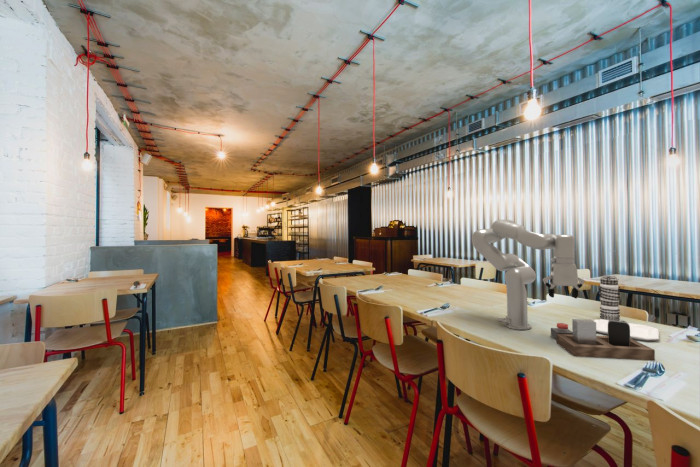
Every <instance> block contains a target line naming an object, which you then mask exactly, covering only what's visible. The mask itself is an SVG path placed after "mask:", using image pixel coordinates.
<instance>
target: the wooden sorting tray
mask: <svg viewBox="0 0 700 467" xmlns="http://www.w3.org/2000/svg"><path fill="white" fill-rule="evenodd" d="M571 323H572V324H571V326H572V329H571V331H572V332H573V335H571V334H556V339H555V340H556V344H558V345H559V346H560V347H561V348H563V349H564V348H565V349H564V350H565V351H567V352H568V351H569V352H568V353H569V354H571V355H572V354H573V355H572V356H574V357H583V356H585V358H586V357H587V358H588V357H589V358H603V357H604V358H608V359H625V360H644V361H645V360H647V361H655V360H656V355H655V351H656V350H655V349H654V348H651V347H650V346H647V345H646V344H643V343H641V342H639V341H638V340H636V339H631V338H630V347H627V346H613V345H611V344H609V343H608V335H597V331H596V322H594V320H592V319H584V318H583V319H581V318H580V319H579V318H578V319H576V318H575V319H574V318H572V320H571Z"/></svg>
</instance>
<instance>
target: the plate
mask: <svg viewBox="0 0 700 467" xmlns="http://www.w3.org/2000/svg"><path fill="white" fill-rule="evenodd" d="M593 321H594V322H596V333H600V334H603V335H606V336H608V321H609V320H604V319H601V318H599V319H593ZM627 323H628V324H629V326H630V338H631V339H633V340H635V341H646V342H647V341H651V342H652V341H656V340H658V341H659V340H660V333H659V332H660V331H659V329H658V328H656V327H652V326H649V325H644V324H638V323H632V322H631V323H630V322H627Z"/></svg>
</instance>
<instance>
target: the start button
mask: <svg viewBox="0 0 700 467" xmlns="http://www.w3.org/2000/svg"><path fill="white" fill-rule="evenodd" d="M556 328H560V329H569V324H567V323H563V322H557V323H556Z"/></svg>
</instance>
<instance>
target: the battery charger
mask: <svg viewBox="0 0 700 467" xmlns="http://www.w3.org/2000/svg"><path fill="white" fill-rule="evenodd" d="M628 323H629V322H627V321H624V320H609V321H608V335H607V336H608V343H609V344H611V345H613V346H627V347H630V326H629V324H628Z"/></svg>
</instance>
